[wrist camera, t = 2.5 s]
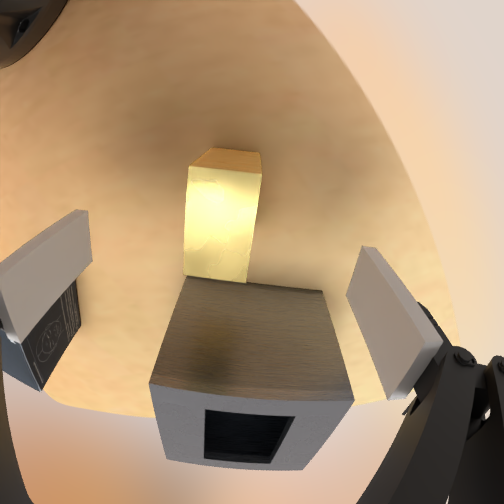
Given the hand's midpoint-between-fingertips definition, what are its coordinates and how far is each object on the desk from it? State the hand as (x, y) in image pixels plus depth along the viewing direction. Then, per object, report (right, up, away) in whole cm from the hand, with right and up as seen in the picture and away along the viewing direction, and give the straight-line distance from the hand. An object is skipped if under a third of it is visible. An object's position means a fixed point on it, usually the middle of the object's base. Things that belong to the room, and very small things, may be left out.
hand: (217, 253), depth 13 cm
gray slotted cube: (+1, -8, +15) cm, 17 cm away
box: (-20, -4, +14) cm, 24 cm away
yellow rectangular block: (0, +5, +9) cm, 10 cm away
